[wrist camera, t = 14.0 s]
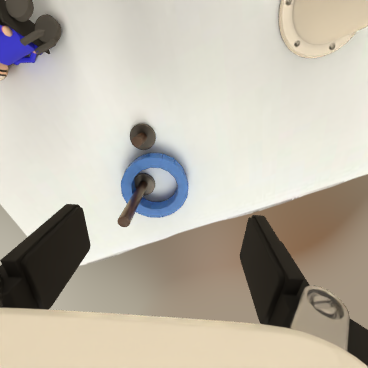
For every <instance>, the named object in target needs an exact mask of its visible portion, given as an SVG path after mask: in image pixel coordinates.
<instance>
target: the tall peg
mask: <svg viewBox="0 0 368 368" xmlns="http://www.w3.org/2000/svg"><path fill="white" fill-rule="evenodd" d="M135 188H136V190H135V192H134V193H133V195H132V197H131V198H130V200H129V202H128V203H127V205H126V207H125V208H124V210H123V212H122V213H121V215H120V217H119V219H118V224H119V225H120V226H122V227H127V226H129V224H130V222H131V220H132V218H133V216H134V214H135V212H136V209H137V207H138V205H139V203H140V201H141V199H142V197H143V195H148V194H150V193H152V192H153V190H154V188H155V181H154V179H153V178H152V177H151V176H150V175H148V174H144V173H142V174H138V175H136V176H135Z"/></svg>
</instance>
